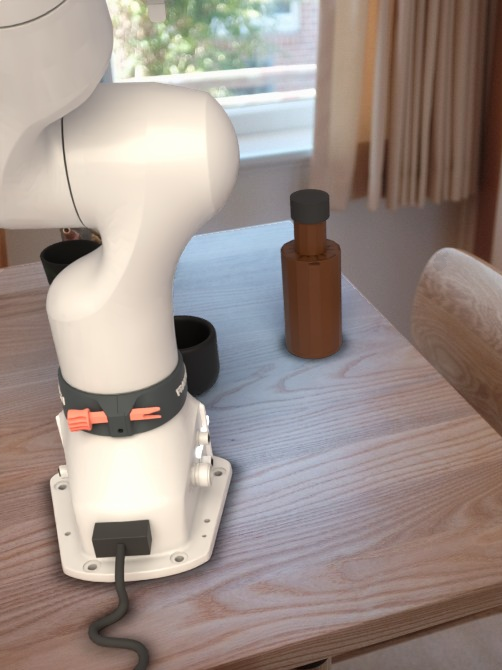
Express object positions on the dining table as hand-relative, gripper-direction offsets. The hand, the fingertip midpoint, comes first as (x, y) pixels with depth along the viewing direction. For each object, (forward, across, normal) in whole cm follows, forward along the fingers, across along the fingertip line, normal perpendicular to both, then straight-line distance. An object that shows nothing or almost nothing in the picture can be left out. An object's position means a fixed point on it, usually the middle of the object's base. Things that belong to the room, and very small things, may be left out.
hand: (159, 11), depth 100 cm
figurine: (+37, -6, -15) cm, 41 cm away
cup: (+37, +4, -14) cm, 40 cm away
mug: (+37, +18, -3) cm, 42 cm away
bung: (+22, +10, +15) cm, 28 cm away
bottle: (+37, +10, +15) cm, 41 cm away
